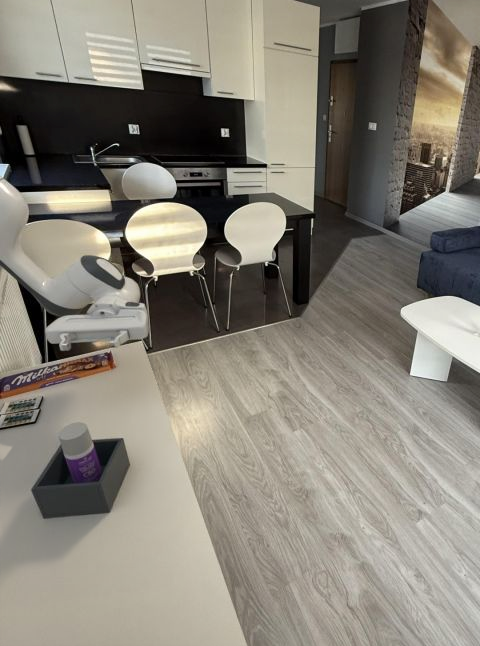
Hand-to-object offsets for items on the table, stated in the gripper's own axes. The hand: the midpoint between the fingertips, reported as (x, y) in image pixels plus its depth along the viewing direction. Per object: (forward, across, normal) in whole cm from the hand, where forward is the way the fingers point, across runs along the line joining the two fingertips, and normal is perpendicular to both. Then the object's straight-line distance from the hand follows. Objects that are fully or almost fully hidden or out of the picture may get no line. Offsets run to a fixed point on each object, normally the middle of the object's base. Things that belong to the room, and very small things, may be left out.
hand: (88, 346), depth 85 cm
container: (+18, +2, +22) cm, 29 cm away
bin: (+18, +1, +23) cm, 29 cm away
